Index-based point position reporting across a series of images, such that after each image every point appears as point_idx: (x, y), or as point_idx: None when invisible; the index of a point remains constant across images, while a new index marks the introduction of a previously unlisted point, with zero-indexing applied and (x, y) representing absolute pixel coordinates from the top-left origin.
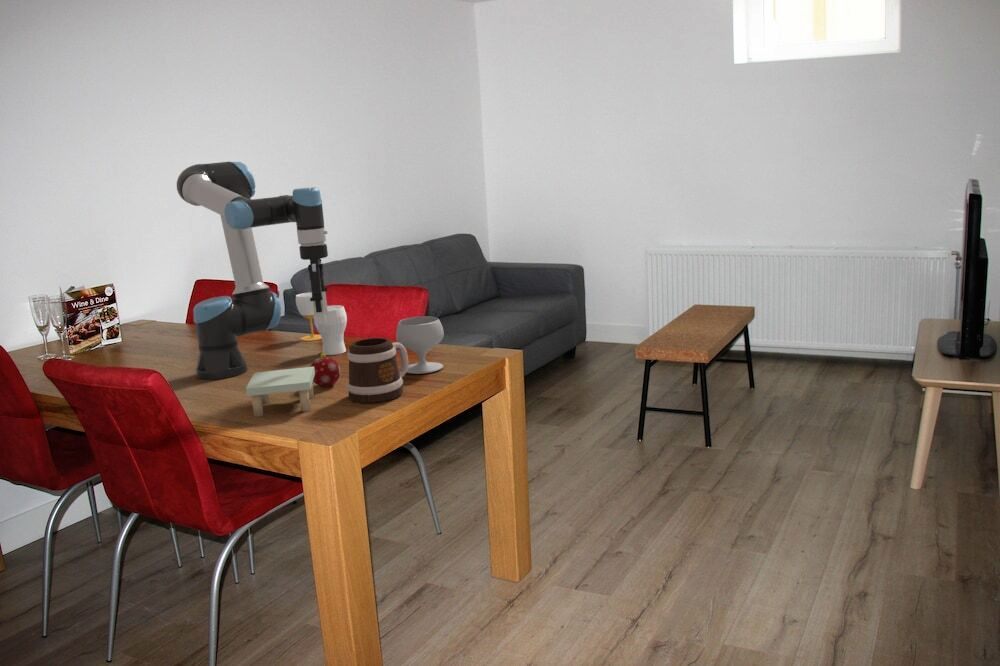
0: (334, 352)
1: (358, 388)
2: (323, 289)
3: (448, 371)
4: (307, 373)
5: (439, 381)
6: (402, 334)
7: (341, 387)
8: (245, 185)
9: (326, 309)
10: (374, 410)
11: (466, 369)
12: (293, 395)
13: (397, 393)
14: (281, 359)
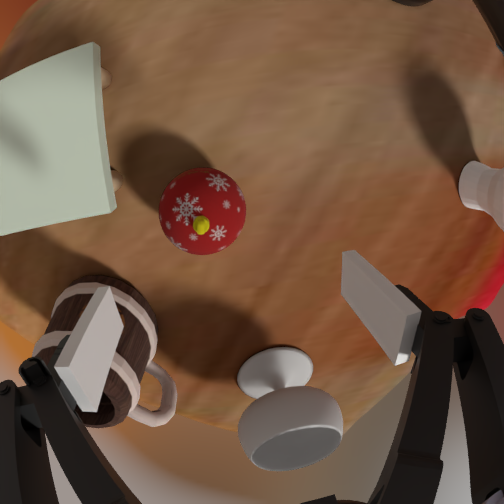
0: (462, 187)
1: (52, 313)
2: (413, 366)
3: (246, 405)
4: (46, 212)
5: (187, 400)
6: (256, 420)
7: None
8: None
9: (350, 303)
10: (37, 321)
11: None
12: (137, 133)
13: None
14: (462, 77)
